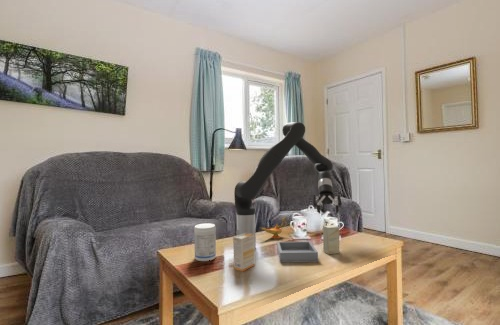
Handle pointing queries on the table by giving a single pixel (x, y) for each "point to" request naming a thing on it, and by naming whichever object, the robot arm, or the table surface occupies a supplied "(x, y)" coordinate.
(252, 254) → the supplement box
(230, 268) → the table surface
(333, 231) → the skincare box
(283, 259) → the bin
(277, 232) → the magic lamp
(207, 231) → the supplement tub
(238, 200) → the robot arm
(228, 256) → the table surface
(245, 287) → the table surface
